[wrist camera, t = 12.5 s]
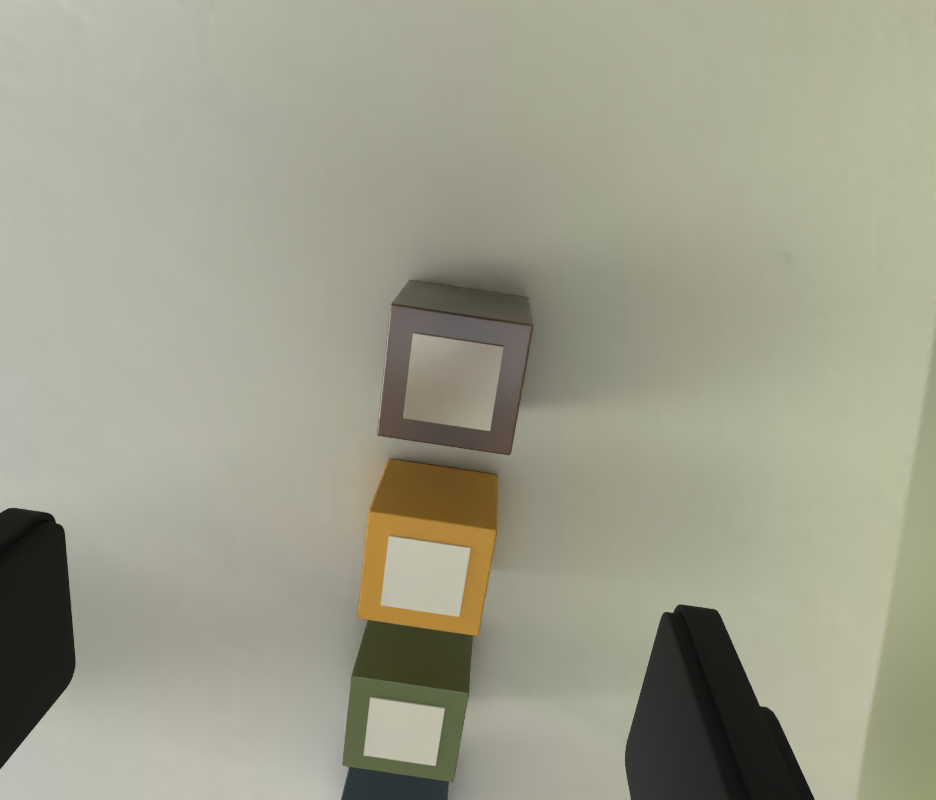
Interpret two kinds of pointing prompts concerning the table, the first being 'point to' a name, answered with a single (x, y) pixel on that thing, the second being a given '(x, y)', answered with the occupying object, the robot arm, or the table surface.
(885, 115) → the table surface
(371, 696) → the olive block
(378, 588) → the ochre block
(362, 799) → the slate block
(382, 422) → the walnut block
